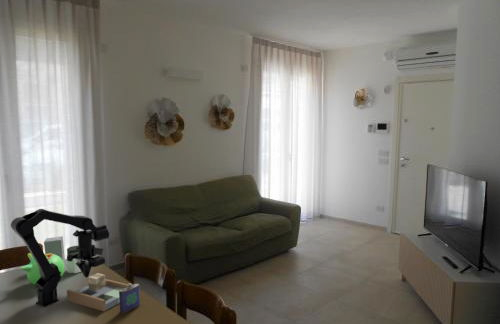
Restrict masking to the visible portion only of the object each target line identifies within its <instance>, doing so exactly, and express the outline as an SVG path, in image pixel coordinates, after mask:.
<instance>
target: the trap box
mask: <svg viewBox="0 0 500 324" xmlns="http://www.w3.org/2000/svg"><path fill="white" fill-rule="evenodd" d="M105 282H106V286H104V287H102V288H100V289H98V290H95V289H91V288H89V284H88V285H86V286H84V287H81V288H79V289H77V290H72V289H67V290H66V298H67V301H68V302H71V303H74V304H78V305H80V306H81V305H82V306H84V307H87V308H91V309H93V310H97V311H100V312H106V311H108V310H110V309H111V308H113V307H114V306H115V307H116V306H117V305H118V304H119V305H120V300H119V291H120V290H121V289H122V288H123V289H125V288H127V286H128V285H129V284H128V283H125V282H124V283H123V282H120V281H115V280H111V279H107V278H105Z"/></svg>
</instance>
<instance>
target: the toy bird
mask: <svg viewBox="0 0 500 324" xmlns="http://www.w3.org/2000/svg"><path fill="white" fill-rule="evenodd" d="M44 254H45V253H44ZM45 256H46V258H47V259H48V261H49V263H50V264H51V263H53V264H55V265H57V266H58V269H59V271H60V272H61V274H60V275H61V278H62V276H63V275H64V273H65V265H64V262H63V260H62V259H61V258H60V257H59V256H57V255H55V254H52V253H49V254H45ZM27 258H28V259H29V260H30V262H29V263H28V264H25V265H23V266H21V267H20V268H19V269H20V270H21V271H24V272H26V276H27V280H28V281H29V282H30V283H31V284H33V285H35V286H36V284H35V283H36V282H37V281H38V280H39V278H40V277H41V276H40V273H39V267H38V265H37V263H36V261H35V260H34V258H33V256H32V254H31V253H30V252H29V253H27Z"/></svg>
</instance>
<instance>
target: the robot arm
mask: <svg viewBox="0 0 500 324" xmlns="http://www.w3.org/2000/svg"><path fill="white" fill-rule="evenodd" d="M44 220H45V221H46V220H47V221H51V222H56V223H61V224H67V225H70V226H72V227H75V228H78V229H79V230H80V231H79V230H78V229H76V230H75V231H74V232H73V233H72V236H74V237H76V238H77V246H78V247H76V249H77V250H78V251H79V252H74V253H71V254H68V256H67V255H66V262H67V261H70V262H71V261H72V260H73V259H76V260H77V263H76V265H77V266H78V267H79V269H80V270H81V272H80V273H82V274H83V276H84V278H87V279H88V277H89V275H90V272H91V269H92V267H93V268H96V267H99V266H101V265H104V264H106V258H105V257H104V256H102V255H103V252H104V248H101V247H97V246H96V245H95V244H93V241H94V242H101V241H104V240H108V239H109V237H110V232H109V228H108V227H107V225H106V224H102V225H98V226H96V225H95V224H94V223H93V221H94V220H93V219H92V218H91V217H88V216H86V215H85V216H84V215H69V214H66V213H65V214H64V213H62V212H61V213H60V212H56V211H50V210H46V209H44V208H39V209H37V210H35V211H33V212H30V213H27V214H25V215H23V216H19V217H15V218H14V219H12V221H11V223H10V227H11V229H12V230H13V231H14V232H15V234H16V235H17V236H18V237H19V238H20V239H21V240H22V241H23V242H24V244H25V246H26V247H27V249H28V251H29V253H31V254H32V256H33V258H34V260H35V261H36V263H37V265H38V267H39V273H40V276H41V277H40V278H39V280H38V281H37V282H36V283H35V284H36V285H35V286H36V287H37V288H38V290H37V301H36V302H35V305H38V306H40V307H45V308H46V307H48V306H50V305H52V304H55V303H57V302H59V301H60V299H59V298H58V289H57V288H58V285H59V283H60V282H61V279H62V277H61V275H60V274H61V272H60V271H59V269H58V266H57V265H55V264H53V263H51V264H50V263H49V261H48V259H47V258H46V256H45V251H43V249H42V247H41V245H40V244H39V241H38V240H37V239H36V238H37V237H36V236H35V230H34V228H35V227H36V226H38V225H39V224H40V223H41V222H43V221H44Z"/></svg>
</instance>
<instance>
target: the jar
mask: <svg viewBox="0 0 500 324" xmlns="http://www.w3.org/2000/svg"><path fill="white" fill-rule="evenodd" d="M76 247H78V245H72V246H70V247H67V248H66V257H67V256H68V254H71V253H74V252H79V251H78V250H77V249H76ZM76 263H77V260H76V259H73V260H72V261H71V262H70V261H67V260H66V268H67V273H68V274H69V273H70V274H78V273H82V272H81V270H80V269H79V267H78V266H77V265H76Z"/></svg>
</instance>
